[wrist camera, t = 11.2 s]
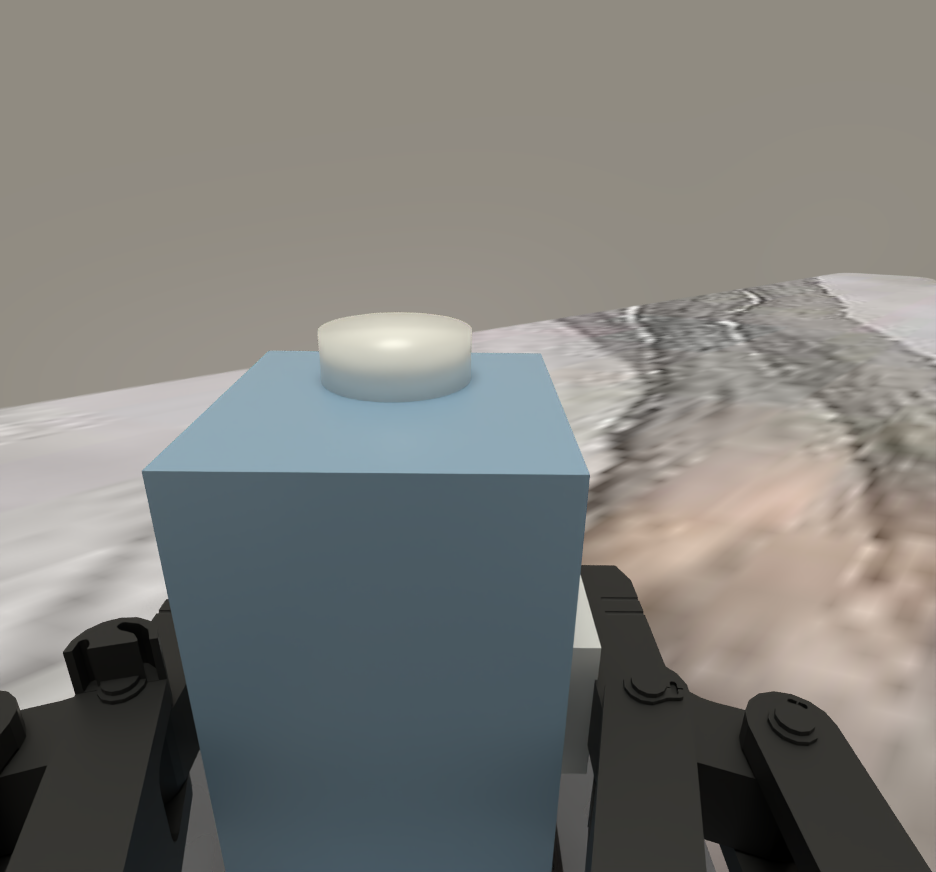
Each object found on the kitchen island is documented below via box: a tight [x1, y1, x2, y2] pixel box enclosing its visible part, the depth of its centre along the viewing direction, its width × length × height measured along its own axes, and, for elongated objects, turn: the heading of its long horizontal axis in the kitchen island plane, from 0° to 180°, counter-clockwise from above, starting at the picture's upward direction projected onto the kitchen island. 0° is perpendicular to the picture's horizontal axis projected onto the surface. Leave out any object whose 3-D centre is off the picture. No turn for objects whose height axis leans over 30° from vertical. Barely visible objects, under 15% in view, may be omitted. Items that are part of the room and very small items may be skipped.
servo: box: [142, 312, 590, 872], centre depth 12 cm, size 10×5×13 cm, turn 0°
